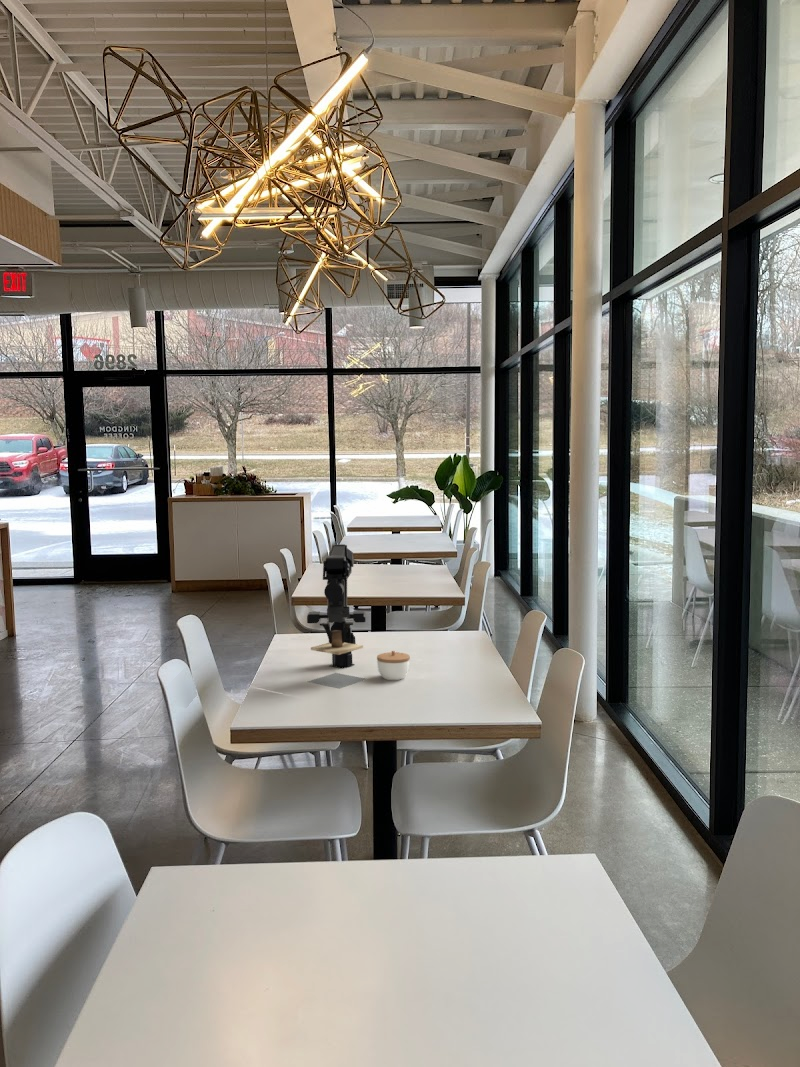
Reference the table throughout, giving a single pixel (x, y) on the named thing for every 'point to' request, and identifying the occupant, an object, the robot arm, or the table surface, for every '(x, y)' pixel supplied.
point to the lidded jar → (393, 665)
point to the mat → (337, 680)
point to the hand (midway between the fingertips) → (336, 643)
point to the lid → (336, 645)
